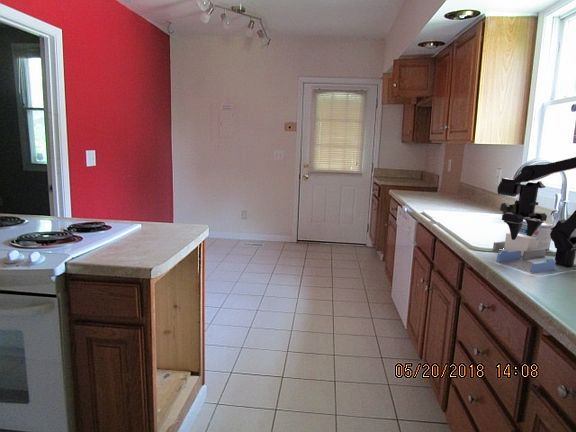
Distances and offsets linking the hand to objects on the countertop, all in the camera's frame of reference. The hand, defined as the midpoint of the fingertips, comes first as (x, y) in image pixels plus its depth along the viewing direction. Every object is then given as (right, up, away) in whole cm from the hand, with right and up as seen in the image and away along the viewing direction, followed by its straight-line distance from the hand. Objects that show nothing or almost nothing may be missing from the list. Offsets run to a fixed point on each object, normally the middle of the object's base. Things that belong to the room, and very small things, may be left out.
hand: (520, 238), depth 150 cm
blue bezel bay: (-7, -9, -14) cm, 18 cm away
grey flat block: (0, -6, +1) cm, 6 cm away
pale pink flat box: (0, -6, +1) cm, 6 cm away
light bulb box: (+13, -4, +13) cm, 19 cm away
